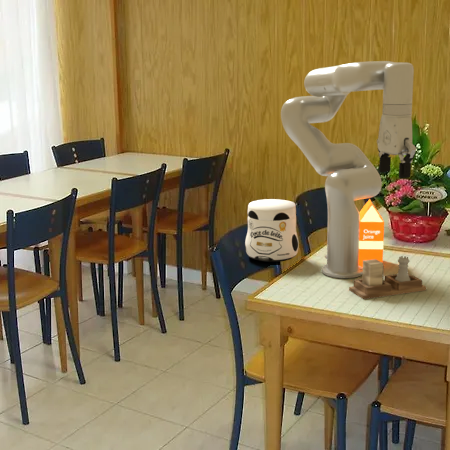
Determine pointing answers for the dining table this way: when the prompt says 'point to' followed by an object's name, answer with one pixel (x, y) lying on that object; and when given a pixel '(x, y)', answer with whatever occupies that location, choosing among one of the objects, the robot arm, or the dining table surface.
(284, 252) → the milk container
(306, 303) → the dining table surface
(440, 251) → the dining table surface
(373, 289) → the wooden compartment tray
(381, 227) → the orange juice
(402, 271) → the rook chess piece
